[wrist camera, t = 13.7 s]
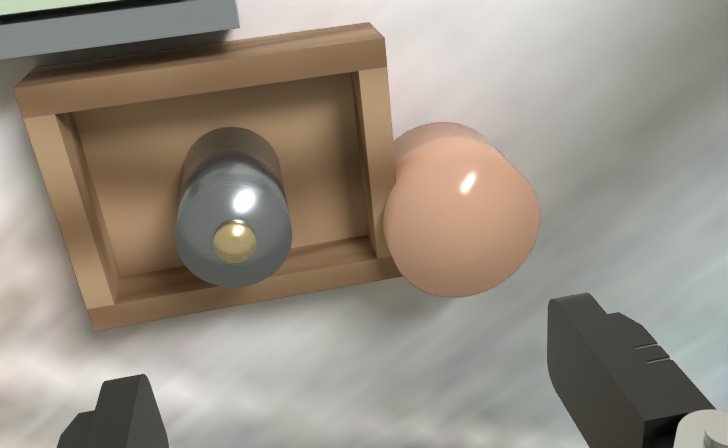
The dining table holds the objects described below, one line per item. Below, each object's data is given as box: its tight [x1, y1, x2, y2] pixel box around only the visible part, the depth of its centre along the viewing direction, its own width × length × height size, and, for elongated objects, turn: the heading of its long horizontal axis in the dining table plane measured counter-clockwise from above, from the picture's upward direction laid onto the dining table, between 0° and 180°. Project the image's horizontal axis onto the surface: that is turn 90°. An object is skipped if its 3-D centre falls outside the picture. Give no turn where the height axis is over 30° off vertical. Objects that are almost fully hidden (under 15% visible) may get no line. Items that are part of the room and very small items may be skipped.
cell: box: [175, 127, 292, 287], centre depth 29 cm, size 4×4×7 cm
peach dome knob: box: [383, 122, 540, 298], centre depth 33 cm, size 7×7×5 cm
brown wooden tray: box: [13, 23, 403, 331], centre depth 32 cm, size 11×15×4 cm
